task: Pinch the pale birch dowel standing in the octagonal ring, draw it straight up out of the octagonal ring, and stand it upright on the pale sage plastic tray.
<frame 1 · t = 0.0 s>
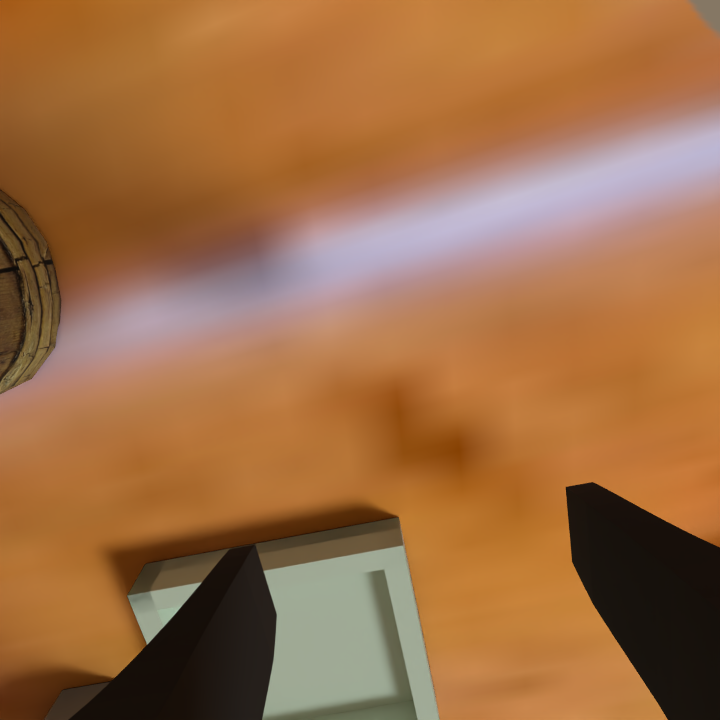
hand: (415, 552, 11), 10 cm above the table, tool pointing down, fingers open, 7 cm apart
tray: (298, 633, 25), on the table
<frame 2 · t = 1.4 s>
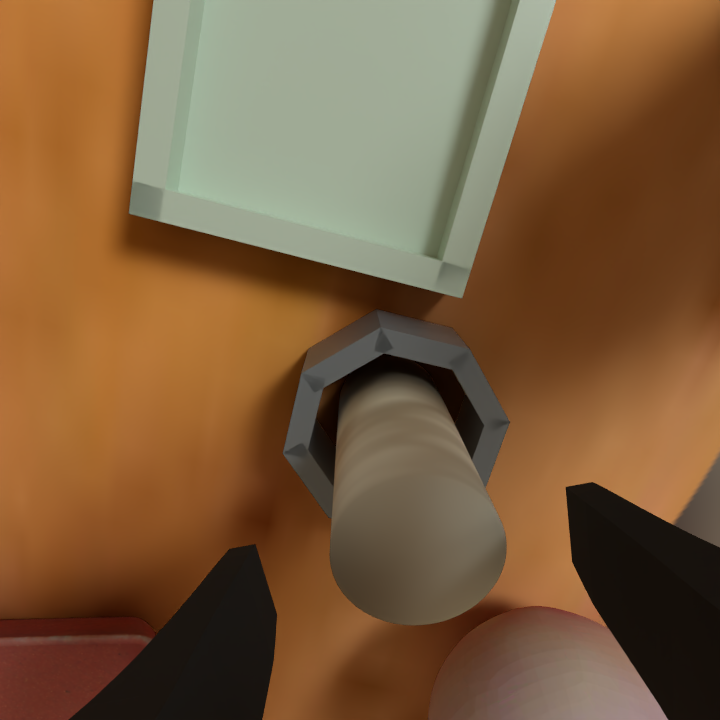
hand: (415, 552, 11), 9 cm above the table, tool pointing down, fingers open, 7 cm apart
tray: (345, 71, 16), on the table
octagonal ring: (389, 404, 20), on the table
dowel: (399, 458, 16), in the octagonal ring
decorative fruit: (499, 623, 23), on the table
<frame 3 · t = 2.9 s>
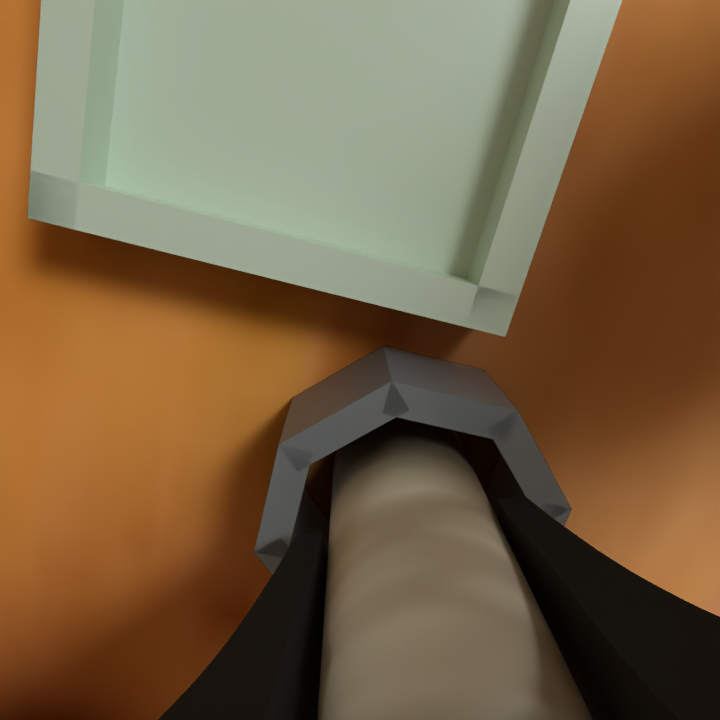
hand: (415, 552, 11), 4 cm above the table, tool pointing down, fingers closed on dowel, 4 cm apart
tray: (340, 16, 12), on the table
octagonal ring: (399, 469, 15), on the table
dowel: (419, 573, 11), in the octagonal ring, touching gripper
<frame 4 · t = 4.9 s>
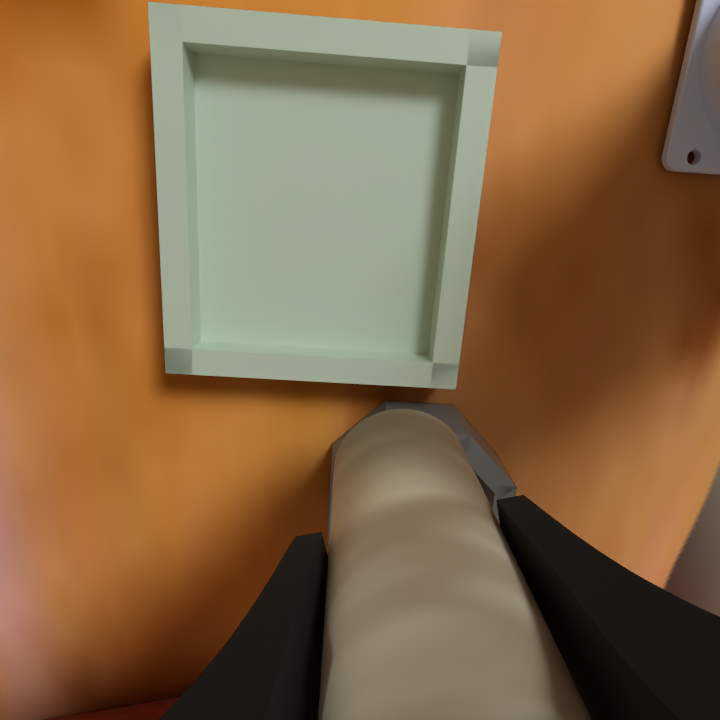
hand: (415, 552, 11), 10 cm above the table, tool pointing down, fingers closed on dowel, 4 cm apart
tray: (322, 216, 19), on the table
octagonal ring: (411, 477, 22), on the table
dowel: (420, 574, 11), point 11 cm above the table, touching gripper
when the fingers open (6 cm above the table, at t = 7.0 s): dowel drops 1 cm, resting on tray.
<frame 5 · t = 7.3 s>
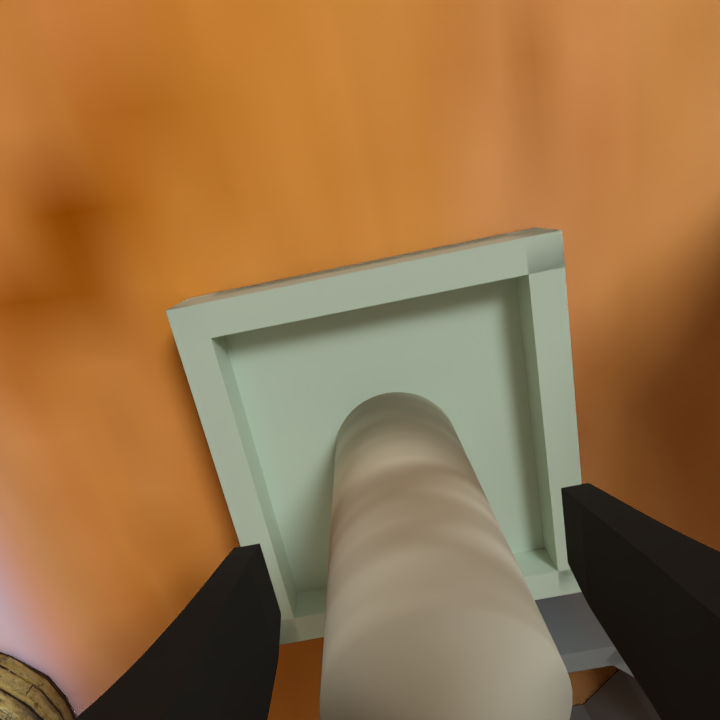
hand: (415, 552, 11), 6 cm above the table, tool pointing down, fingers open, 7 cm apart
tray: (393, 436, 17), on the table
octagonal ring: (550, 658, 20), on the table
dowel: (412, 533, 12), in the tray, point 5 cm above the table
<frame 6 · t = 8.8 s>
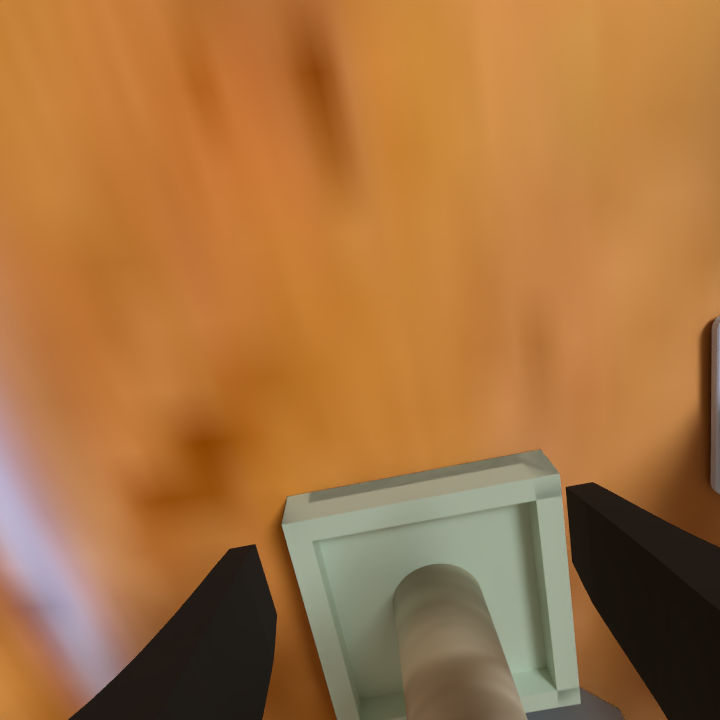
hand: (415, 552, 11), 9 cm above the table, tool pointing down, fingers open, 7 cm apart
tray: (434, 586, 23), on the table
dowel: (459, 694, 18), in the tray, point 5 cm above the table
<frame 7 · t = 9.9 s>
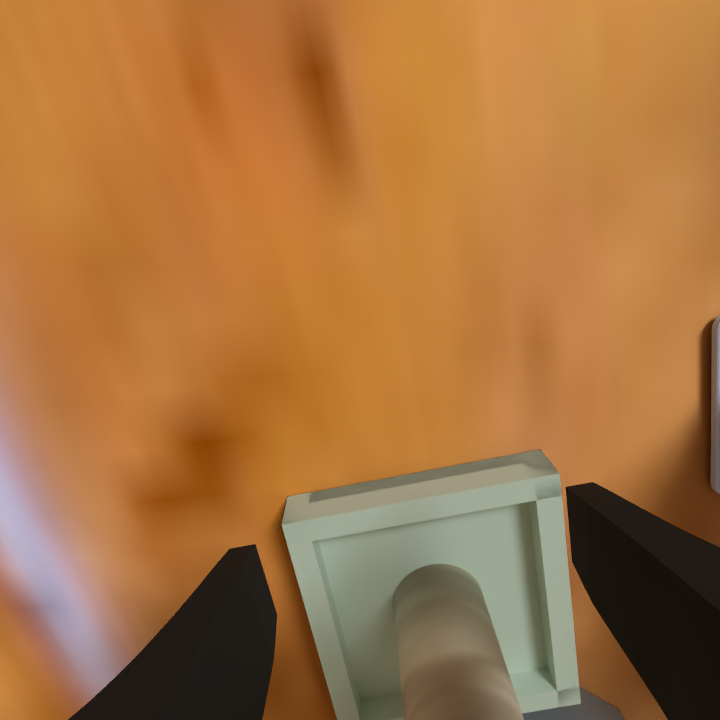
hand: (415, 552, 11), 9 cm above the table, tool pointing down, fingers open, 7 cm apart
tray: (434, 586, 23), on the table
dowel: (457, 695, 18), in the tray, point 5 cm above the table
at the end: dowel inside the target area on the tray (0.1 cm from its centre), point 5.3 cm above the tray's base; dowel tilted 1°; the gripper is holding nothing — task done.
